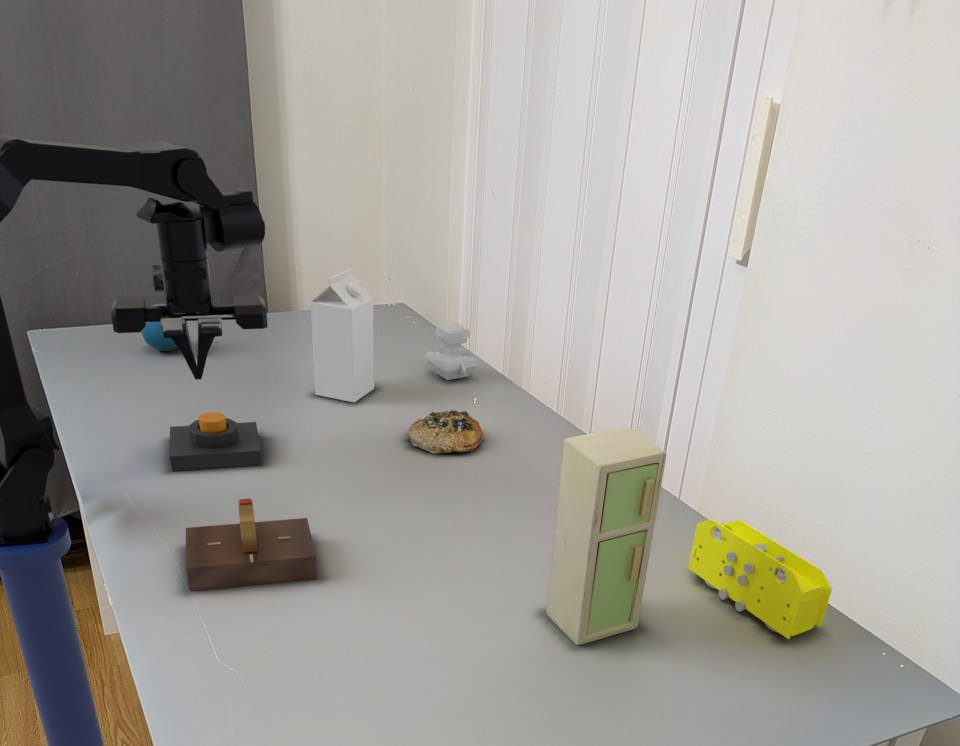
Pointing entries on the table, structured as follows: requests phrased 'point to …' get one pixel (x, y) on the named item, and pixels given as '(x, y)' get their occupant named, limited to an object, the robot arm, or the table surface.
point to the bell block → (214, 446)
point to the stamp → (452, 353)
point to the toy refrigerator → (603, 532)
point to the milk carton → (343, 339)
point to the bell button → (212, 422)
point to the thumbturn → (247, 525)
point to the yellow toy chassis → (760, 576)
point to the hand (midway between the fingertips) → (198, 378)
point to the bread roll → (446, 432)
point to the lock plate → (249, 555)
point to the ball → (157, 335)
